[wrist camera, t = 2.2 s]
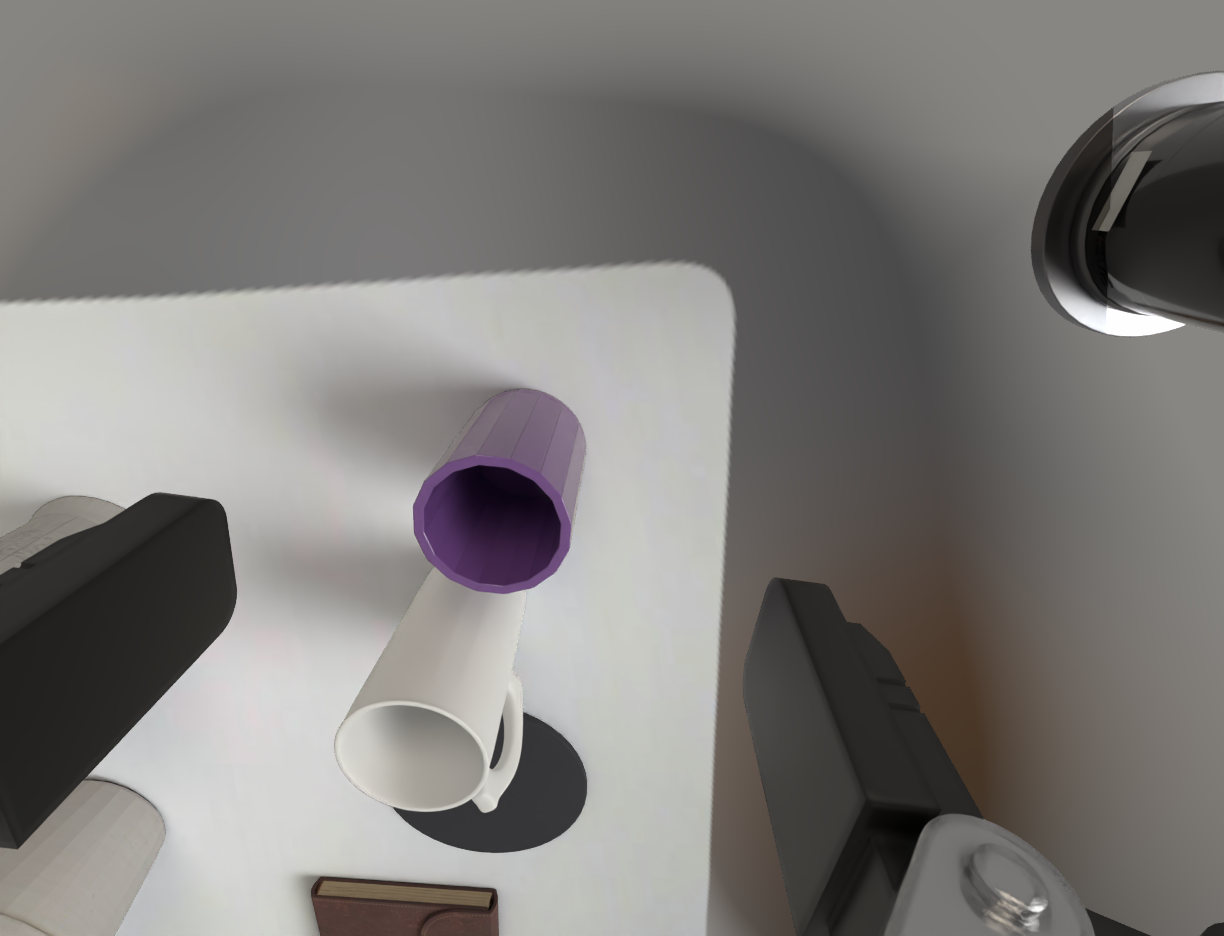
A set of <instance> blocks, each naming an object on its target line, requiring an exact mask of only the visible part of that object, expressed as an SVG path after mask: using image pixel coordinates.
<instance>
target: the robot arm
mask: <svg viewBox="0 0 1224 936" xmlns="http://www.w3.org/2000/svg"><path fill="white" fill-rule="evenodd" d="M1071 256H1072V262H1073V266H1074V270H1075V272H1076V275H1077V277H1078V279H1079V281H1080V283H1081V284H1082V286H1083V287H1084V289H1085V290H1086V291H1087V292H1088V293H1089V294H1090V295H1091V296H1092V297H1093V298H1094V299H1096V300H1097V301H1098V302H1100V303H1102V304H1103V305H1105V306H1107V307H1110V308H1112V309H1115V310H1119V311H1122V312H1127V313H1131V314H1136V315H1142V316H1154V317H1158V318H1162V319H1167V320H1171V321H1175V322H1179V323H1182V324H1187V325H1191V326H1195V327H1200V328H1204V329H1208V330H1213V331H1217V332H1222V333H1224V101H1218V102H1212V103H1205V104H1199V105H1193V106H1189V107H1185V108H1181V109H1178V110H1176V111H1173V112H1170V113H1168V114H1166V115H1163V116H1161V117H1159V118H1157V119H1155V120H1154V121H1152V122H1150V123H1148V124H1147V125H1145V126H1144V127H1142V128H1141V129H1139V130H1138V131H1136V132H1135V133H1134V134H1132V135H1131V136H1130V137H1128V138H1127V139H1126V140H1125V141H1124V142H1123V143H1122V144H1121V145H1119V146H1118V147H1117V148H1116V149H1115V150H1114V151H1113V152H1112V153H1111V154H1110V156H1109V157H1108V158H1107V159H1106V160H1105V162H1104V163H1103V164H1102V165H1101V167H1100V168H1099V169H1098V171H1097V172H1096V173H1095V175H1094V176H1093V178H1092V180H1091V181H1090V183H1089V184H1088V186H1087V188H1086V190H1085V192H1084V194H1083V196H1082V198H1081V201H1080V203H1079V206H1078V208H1077V211H1076V214H1075V218H1074V222H1073V227H1072V233H1071ZM236 599H237V586H236V579H235V572H234V565H233V558H232V551H231V544H230V537H229V530H228V523H227V517H226V512H225V510H224V508H223V506H222V505H221V504H220V503H219V502H218V501H216V500H213V499H206V498H198V497H191V496H184V495H176V494H169V493H162V492H159V493H153V494H151V495H149V496H147V497H145V498H143V499H142V500H140V501H138V502H137V503H135V504H134V505H132V506H130V507H129V508H127V509H126V510H124V511H122V512H121V513H119V514H117V515H116V516H114V517H113V518H111V519H109V520H108V521H106V522H104V523H102V524H99V525H97V526H94V527H91V528H88V529H86V530H83V531H80V532H77V533H75V534H72V535H69V536H66V537H64V538H61V539H59V540H57V541H56V542H54V543H52V544H51V545H49V546H47V547H46V548H44V549H42V550H41V551H39V552H37V553H36V554H34V555H32V556H31V557H29V558H27V559H26V560H24V561H22V562H21V566H20V567H19V568H16V567H12V568H11V569H9V570H7V571H6V572H4V573H2V574H1V575H0V848H9V849H17V850H18V849H19V848H20V847H21V846H22V845H23V844H24V843H25V842H26V841H27V839H28V838H29V837H30V836H31V835H32V834H33V833H34V832H35V831H36V830H37V829H38V828H39V827H40V826H41V825H42V824H43V822H44V821H45V820H46V819H47V818H48V817H49V816H50V815H51V814H52V813H53V812H54V811H55V810H56V809H57V808H58V807H59V805H60V804H61V803H62V802H63V801H64V800H65V799H66V798H67V797H68V796H69V795H70V794H71V793H72V792H73V791H74V789H75V788H76V787H77V786H78V785H79V784H80V783H81V782H82V781H83V780H84V779H85V778H86V777H87V776H88V775H89V774H90V772H91V771H92V770H93V769H94V768H95V767H96V766H97V765H98V764H99V763H100V762H101V761H102V760H103V759H104V758H105V757H106V755H107V754H108V753H109V752H110V751H111V750H112V749H113V748H114V747H115V746H116V745H117V744H118V743H119V742H120V741H121V739H122V738H123V737H124V736H125V735H126V734H127V733H128V732H129V731H130V730H131V729H132V728H133V727H134V726H135V725H136V724H137V722H138V721H139V720H140V719H141V718H142V717H143V716H144V715H145V714H146V713H147V712H148V711H149V710H150V709H151V708H152V707H153V705H154V704H155V703H156V702H157V701H158V700H159V699H160V698H161V697H162V696H163V695H164V694H165V693H166V692H167V691H168V689H169V688H170V687H171V686H172V685H173V684H174V683H175V682H176V681H177V680H178V679H179V678H180V677H181V676H182V675H183V674H184V672H185V671H186V670H187V669H188V668H189V667H190V666H191V665H192V664H193V663H194V662H195V661H196V660H197V659H198V658H199V657H200V655H201V654H202V653H203V652H204V651H205V650H206V649H207V648H208V647H209V646H210V645H211V644H212V643H213V642H214V641H215V640H216V638H217V637H218V636H219V635H220V634H221V633H222V632H223V631H224V629H225V628H226V626H227V625H228V623H229V621H230V619H231V617H232V614H233V611H234V608H235V604H236ZM905 682H906V680H905V679H904V677H903V675H902V673H901V672H900V670H899V668H898V666H897V664H896V663H895V661H894V659H893V657H892V656H891V654H890V652H889V651H888V650H887V649H886V648H885V647H884V646H883V645H882V644H881V643H880V642H879V641H878V640H877V639H876V638H875V637H874V636H873V635H872V634H870V633H869V632H868V631H867V630H866V629H865V628H864V627H863V626H862V625H861V624H857V623H850V622H846V620H845V618H844V616H843V614H842V612H841V610H840V608H839V606H838V604H837V602H836V600H835V598H834V596H833V594H832V592H831V590H830V589H829V587H828V586H827V585H825V584H819V583H811V582H804V581H797V580H790V579H783V578H773V579H772V580H771V581H770V583H769V585H768V587H767V589H766V592H765V595H764V599H763V602H762V605H761V609H760V612H759V616H758V619H757V622H756V625H755V629H754V632H753V636H752V639H751V642H750V645H749V649H748V652H747V656H746V659H745V664H744V672H743V697H744V703H745V708H746V713H747V717H748V721H749V726H750V730H751V735H752V739H753V744H754V749H755V753H756V757H757V762H758V766H759V771H760V775H761V780H762V784H763V789H764V793H765V798H766V802H767V807H768V811H769V816H770V820H771V825H772V829H773V834H774V838H775V843H776V847H777V852H778V856H779V861H780V865H781V870H782V874H783V879H784V883H785V888H786V892H787V897H788V901H789V906H790V910H791V915H792V919H793V924H794V928H795V932H796V936H1150V935H1147V934H1145V933H1143V932H1140V931H1138V930H1135V929H1133V928H1131V927H1128V926H1126V925H1124V924H1121V923H1119V922H1116V921H1114V920H1111V919H1109V918H1107V917H1104V916H1102V915H1100V914H1097V913H1095V912H1093V911H1090V910H1088V909H1086V908H1085V907H1084V906H1083V904H1082V902H1081V901H1080V900H1079V898H1078V896H1077V894H1076V893H1075V892H1074V890H1073V889H1072V888H1071V886H1070V885H1069V883H1068V882H1067V881H1066V879H1065V878H1064V877H1063V876H1062V875H1061V874H1060V873H1059V872H1058V870H1057V869H1056V868H1055V867H1054V866H1053V865H1052V864H1051V863H1050V862H1049V861H1048V860H1047V859H1046V858H1044V857H1043V856H1042V855H1041V854H1040V853H1039V852H1038V851H1036V850H1035V849H1034V848H1033V847H1031V846H1030V845H1029V844H1027V843H1026V842H1025V841H1023V840H1021V839H1020V838H1019V837H1017V836H1016V835H1014V834H1013V833H1011V832H1009V831H1007V830H1006V829H1004V828H1002V827H1000V826H998V825H996V824H994V823H991V822H989V821H987V820H984V818H983V816H982V815H981V813H980V811H979V809H978V808H977V806H976V804H975V802H974V800H973V799H972V797H971V795H970V793H969V792H968V790H967V788H966V787H965V785H964V783H963V781H962V779H961V777H960V776H959V774H958V772H957V770H956V769H955V767H954V765H953V763H952V762H951V760H950V758H949V756H948V755H947V753H946V751H945V749H944V748H943V746H942V744H941V743H940V740H939V739H938V737H937V735H936V733H935V732H934V730H933V728H932V726H931V725H930V723H929V721H928V719H927V717H926V716H925V714H924V713H920V705H919V703H918V702H917V700H916V698H915V696H914V694H913V693H912V691H911V689H910V687H906V685H905ZM1200 936H1224V923H1218V924H1214V925H1212V926H1210V927H1208V928H1207V929H1206V930H1205V931H1204V932H1203V933H1202V934H1201V935H1200Z"/></svg>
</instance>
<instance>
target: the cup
mask: <svg viewBox="0 0 1224 936" xmlns="http://www.w3.org/2000/svg"><path fill="white" fill-rule="evenodd" d="M585 455H586V441H585V436H584V432H583V429H582V427H581V425H580V423H579V421H578V419H577V418H576V416H575V415H574V414H573V412H572V411H571V410H570V409H569V408H568V407H567V406H566V405H565V404H563V403H562V402H561V401H559V400H558V399H556V398H554V397H553V396H551V395H548V394H546V393H543V392H540V391H536V390H530V389H516V390H510V391H505V392H503V393H500V394H497V395H496V396H494V397H492V398H490V399H489V400H488V401H486V402H485V403H484V404H483V405H482V406H481V407H480V408H479V409H478V410H477V411H476V412H475V413H474V414H473V415H472V417H471V418H470V419H469V421H468V422H467V424H466V425H465V426H464V428H463V429H462V430H461V432H460V433H459V435H458V436H457V437H456V439H455V440H454V441H453V443H452V444H451V445H450V447H449V448H448V450H447V451H446V452H445V454H444V455H443V456H442V458H441V459H440V461H439V462H438V463H437V465H436V466H435V467H434V469H433V470H432V471H431V473H430V474H429V476H428V477H427V478H426V480H425V481H424V483H423V485H422V487H421V489H420V491H419V494H418V496H417V498H416V500H415V502H414V505H413V520H414V533H415V536H416V539H417V541H418V543H419V545H420V547H421V549H422V551H423V553H424V555H425V557H426V558H427V560H428V561H429V562H430V563H431V564H433V565H434V566H435V567H436V568H437V569H438V570H439V571H440V572H441V573H442V574H443V575H444V576H446V577H447V578H449V580H452V581H454V582H456V583H458V584H461V585H463V586H465V587H467V588H470V589H472V590H474V591H478V592H488V593H497V594H509V593H513V592H517V591H522V590H526V589H530V588H533V587H535V586H537V585H538V584H539V583H541V582H542V581H544V580H545V579H547V578H548V577H550V576H551V575H553V574H554V573H555V572H556V571H557V569H558V568H559V566H560V564H561V563H562V561H563V560H564V558H565V556H566V555H567V553H568V551H569V549H570V544H571V538H572V532H573V527H574V521H575V516H576V510H577V504H578V499H579V493H580V488H581V482H582V476H583V471H584V464H585Z"/></svg>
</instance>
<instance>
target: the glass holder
mask: <svg viewBox="0 0 1224 936" xmlns="http://www.w3.org/2000/svg"><path fill="white" fill-rule="evenodd" d="M124 510H125V509H124V508H121V507H119V506H117V505H115V504H112V503H110V502H107V501H103V500H100V499H97V498H91V497H84V496H69V497H63V498H58V499H56V500H53V501H50V502H48V503H47V504H45V505H44V506H42V507H41V508H40V509H38V510H37V512H36V513H35V514H34V515H33V516H32V518H31V519H30V521H29V522H28V523H27V524H25V525H23V526H21V527H19V528H18V529H16V530H14V531H12V532H10V533H8V534H6V535H5V536H3V537H1V538H0V575H1V574H2V573H4V572H6V571H7V570H9V569H11V568H12V567H16V568H19V567H20V566H21V562H22V561H24V560H26V559H27V558H29V557H31V556H32V555H34V554H36V553H37V552H39V551H41V550H42V549H44V548H46V547H47V546H49V545H51V544H52V543H54V542H56V541H57V540H59V539H61V538H64V537H66V536H69V535H72V534H75V533H77V532H80V531H83V530H86V529H88V528H91V527H94V526H97V525H99V524H102V523H104V522H106V521H108V520H109V519H111V518H113V517H114V516H116V515H117V514H119V513H121V512H122V511H124Z"/></svg>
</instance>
